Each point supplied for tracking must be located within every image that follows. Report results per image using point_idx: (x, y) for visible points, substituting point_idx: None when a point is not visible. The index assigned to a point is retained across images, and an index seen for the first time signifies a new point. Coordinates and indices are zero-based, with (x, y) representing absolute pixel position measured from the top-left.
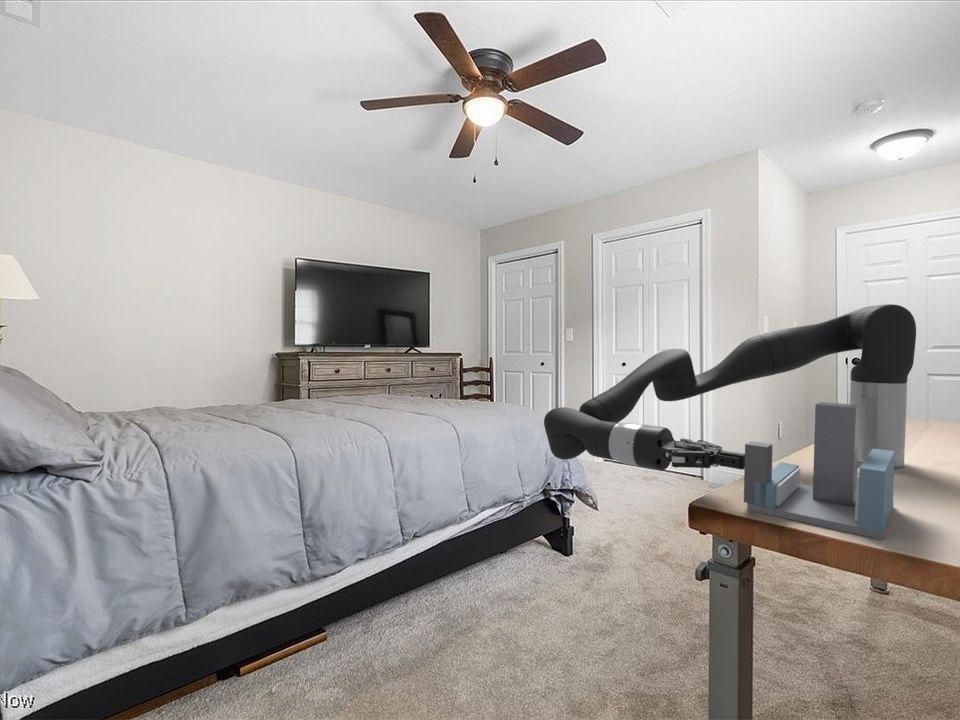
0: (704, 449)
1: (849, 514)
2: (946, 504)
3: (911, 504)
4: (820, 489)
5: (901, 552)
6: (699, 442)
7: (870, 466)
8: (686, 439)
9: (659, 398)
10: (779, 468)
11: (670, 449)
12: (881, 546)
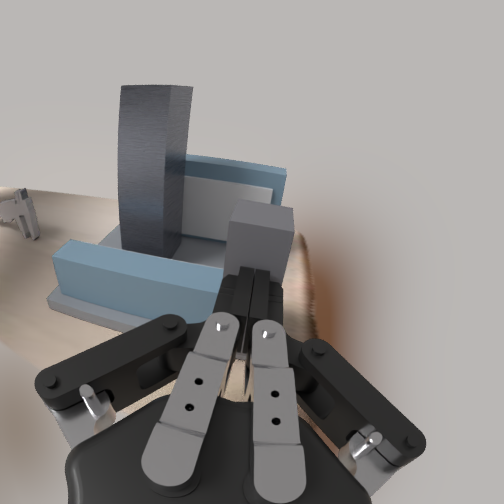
0: (274, 364)
1: (220, 249)
2: (101, 199)
3: (109, 213)
4: (166, 247)
5: (297, 243)
6: (178, 384)
7: (265, 169)
8: (169, 448)
9: None
10: (108, 262)
11: (367, 493)
12: (293, 251)
